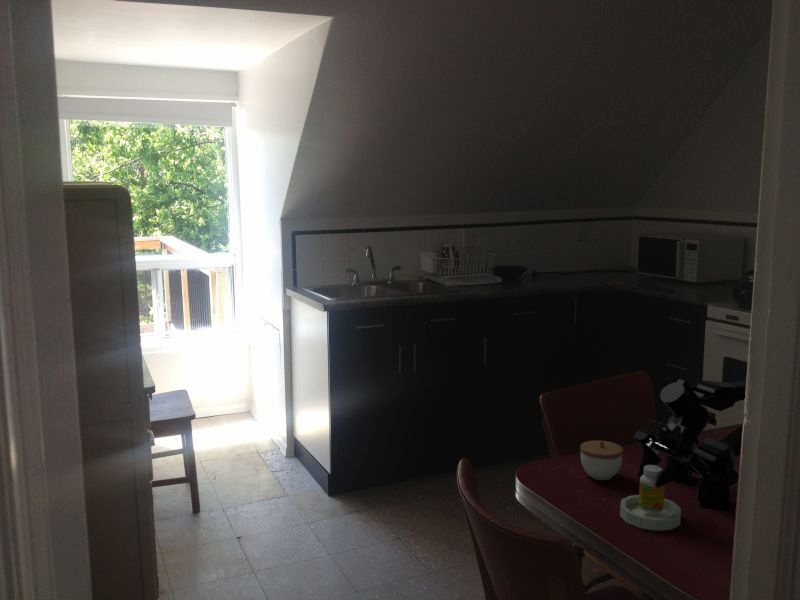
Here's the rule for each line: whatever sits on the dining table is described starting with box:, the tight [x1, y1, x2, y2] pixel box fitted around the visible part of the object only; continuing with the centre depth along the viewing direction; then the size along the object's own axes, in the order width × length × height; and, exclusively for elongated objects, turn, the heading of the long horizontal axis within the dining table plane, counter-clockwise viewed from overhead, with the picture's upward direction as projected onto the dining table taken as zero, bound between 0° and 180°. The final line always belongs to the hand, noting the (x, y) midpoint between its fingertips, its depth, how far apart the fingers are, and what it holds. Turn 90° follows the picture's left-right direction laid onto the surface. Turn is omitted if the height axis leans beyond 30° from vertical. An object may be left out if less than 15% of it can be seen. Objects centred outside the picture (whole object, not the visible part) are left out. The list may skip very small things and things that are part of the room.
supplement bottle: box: [638, 465, 666, 513], centre depth 169 cm, size 5×5×10 cm
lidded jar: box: [579, 440, 624, 481], centre depth 193 cm, size 11×11×9 cm
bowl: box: [619, 494, 682, 532], centre depth 169 cm, size 13×13×2 cm
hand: (647, 481), depth 168 cm, fingers closed on supplement bottle, 5 cm apart
